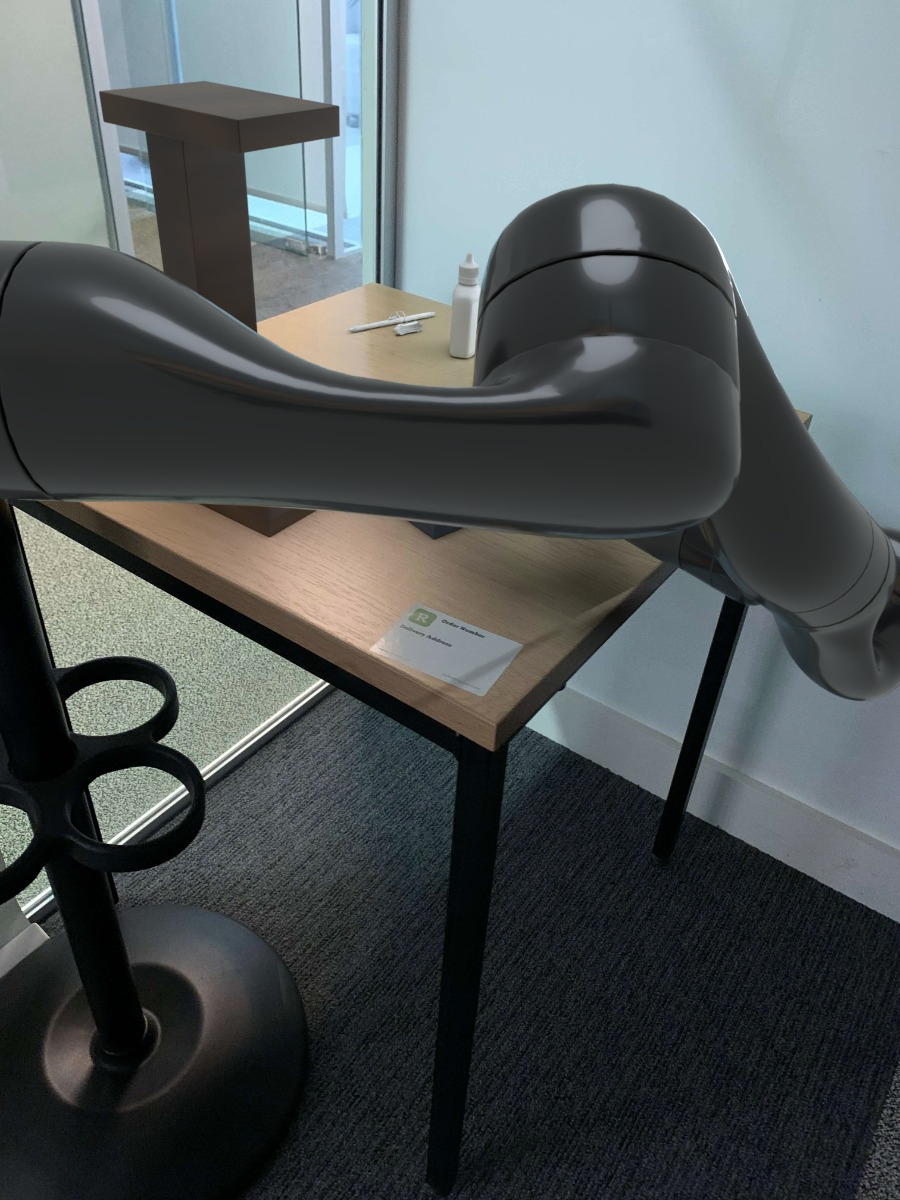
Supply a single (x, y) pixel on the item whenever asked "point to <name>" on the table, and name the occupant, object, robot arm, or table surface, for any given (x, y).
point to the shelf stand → (215, 195)
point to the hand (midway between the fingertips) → (506, 416)
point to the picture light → (401, 327)
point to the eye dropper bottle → (465, 310)
